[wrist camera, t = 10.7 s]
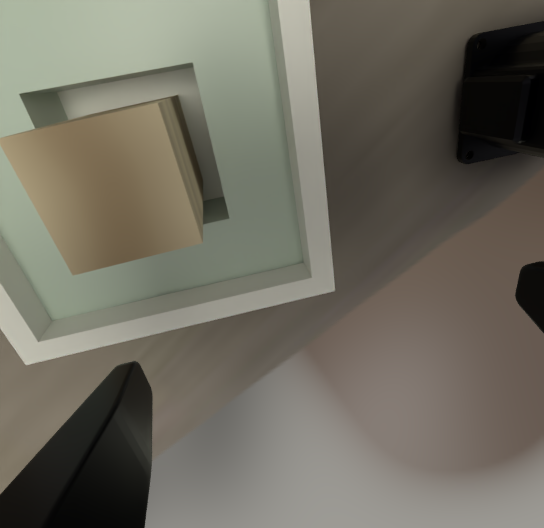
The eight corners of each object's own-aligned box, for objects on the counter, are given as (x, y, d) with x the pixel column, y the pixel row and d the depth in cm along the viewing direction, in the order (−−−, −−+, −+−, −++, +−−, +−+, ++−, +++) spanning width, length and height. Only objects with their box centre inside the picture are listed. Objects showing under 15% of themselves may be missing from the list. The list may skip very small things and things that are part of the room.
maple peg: (177, 94, 16) (157, 102, 9) (202, 180, 18) (202, 243, 11) (90, 114, 16) (-4, 138, 8) (125, 198, 17) (72, 275, 10)
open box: (263, -57, 15) (297, -136, 9) (302, 240, 21) (335, 290, 16) (-85, -3, 14) (-267, -57, 8) (71, 292, 20) (25, 365, 15)
